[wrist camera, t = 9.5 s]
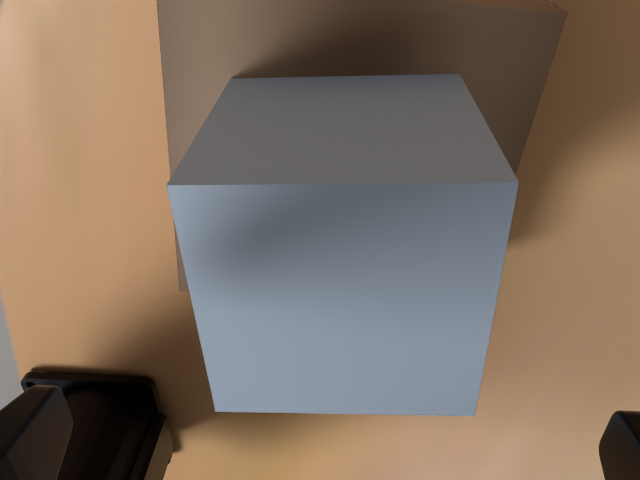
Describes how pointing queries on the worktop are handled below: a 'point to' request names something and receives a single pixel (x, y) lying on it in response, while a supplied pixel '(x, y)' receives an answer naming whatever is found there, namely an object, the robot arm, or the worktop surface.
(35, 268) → the worktop surface
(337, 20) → the walnut block
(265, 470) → the worktop surface
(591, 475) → the worktop surface
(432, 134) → the slate-blue cube
